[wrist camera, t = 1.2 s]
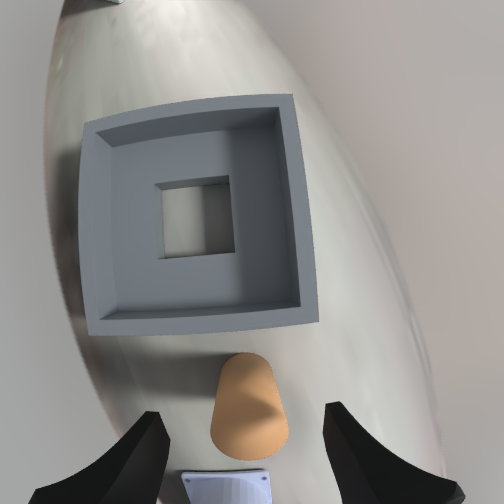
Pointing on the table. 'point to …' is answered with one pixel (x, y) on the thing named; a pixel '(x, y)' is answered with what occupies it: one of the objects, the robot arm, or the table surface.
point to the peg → (248, 410)
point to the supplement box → (117, 1)
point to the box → (188, 175)
